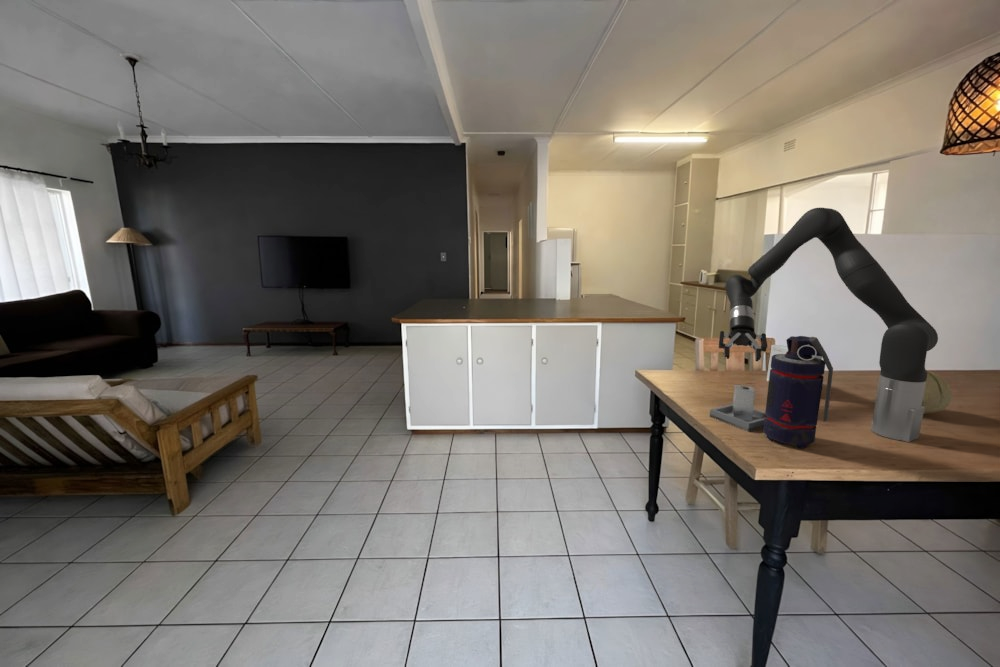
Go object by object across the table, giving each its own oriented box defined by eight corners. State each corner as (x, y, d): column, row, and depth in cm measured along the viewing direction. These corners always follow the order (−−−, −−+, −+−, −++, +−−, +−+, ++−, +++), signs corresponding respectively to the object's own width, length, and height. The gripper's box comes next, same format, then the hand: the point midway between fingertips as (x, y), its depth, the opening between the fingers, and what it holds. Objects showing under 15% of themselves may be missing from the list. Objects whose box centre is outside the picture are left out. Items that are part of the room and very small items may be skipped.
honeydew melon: (942, 425, 120) (951, 378, 117) (878, 410, 132) (885, 367, 129) (952, 414, 128) (961, 370, 125) (890, 401, 140) (898, 361, 137)
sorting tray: (775, 423, 123) (776, 416, 122) (748, 431, 117) (749, 423, 117) (735, 409, 134) (736, 403, 134) (709, 416, 129) (710, 409, 129)
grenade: (758, 439, 112) (769, 337, 106) (767, 427, 120) (779, 331, 115) (819, 456, 102) (835, 344, 97) (825, 441, 110) (840, 337, 105)
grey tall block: (749, 415, 127) (752, 386, 125) (751, 421, 123) (755, 390, 121) (731, 413, 129) (734, 384, 127) (733, 419, 125) (736, 388, 123)
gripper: (720, 313, 141) (719, 351, 133) (767, 315, 135) (769, 354, 127) (718, 326, 147) (717, 362, 138) (763, 328, 140) (765, 366, 132)
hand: (742, 358), depth 133 cm, fingers open, 8 cm apart
